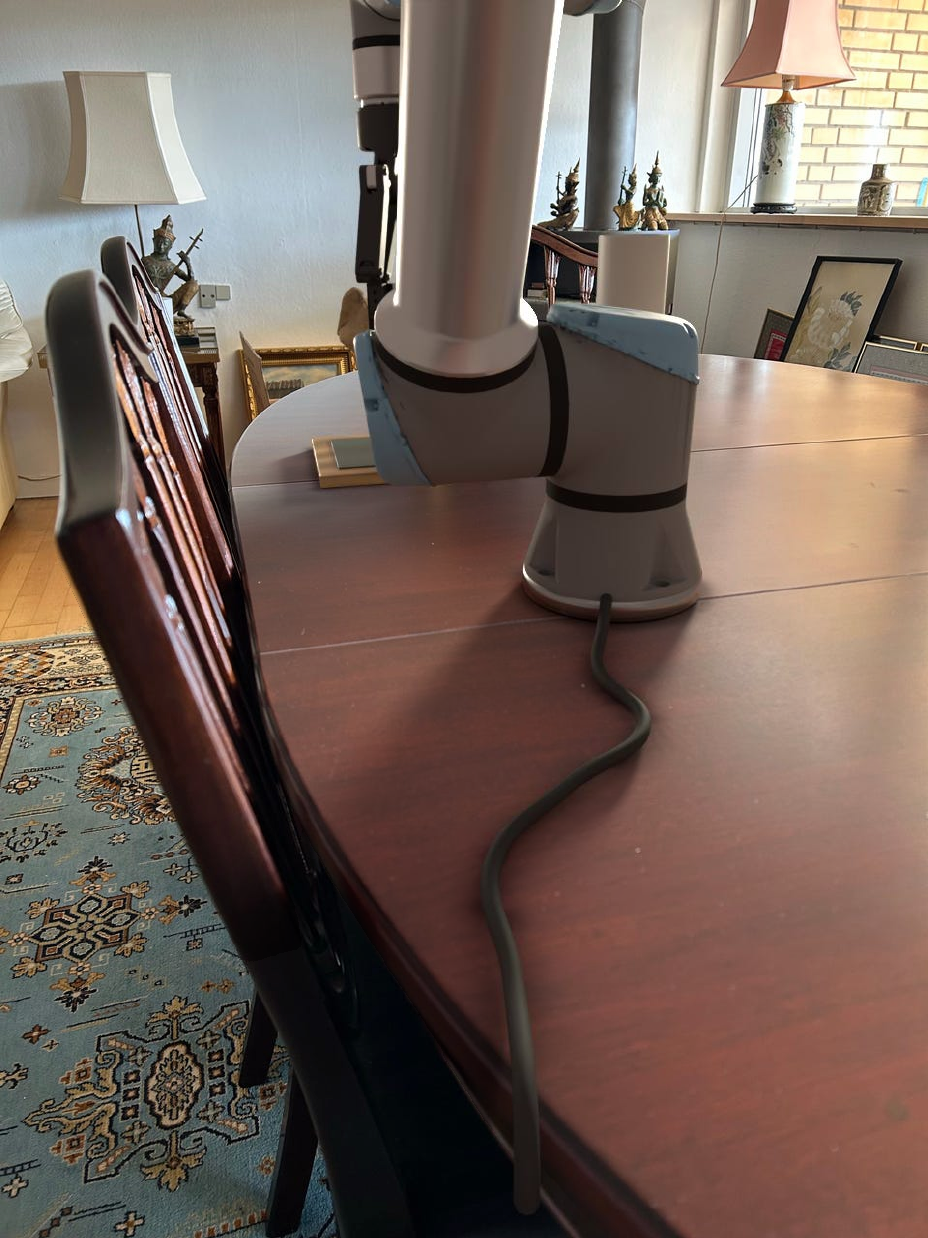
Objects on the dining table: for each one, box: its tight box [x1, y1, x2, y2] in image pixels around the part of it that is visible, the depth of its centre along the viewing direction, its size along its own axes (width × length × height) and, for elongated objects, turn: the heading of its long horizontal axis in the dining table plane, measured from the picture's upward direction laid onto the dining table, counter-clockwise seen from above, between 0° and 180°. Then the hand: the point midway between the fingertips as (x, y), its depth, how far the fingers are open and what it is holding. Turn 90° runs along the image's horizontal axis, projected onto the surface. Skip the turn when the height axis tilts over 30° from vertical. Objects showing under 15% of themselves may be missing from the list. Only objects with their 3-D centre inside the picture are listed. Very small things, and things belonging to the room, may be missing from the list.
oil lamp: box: [336, 286, 369, 355], centre depth 94 cm, size 11×15×8 cm
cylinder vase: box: [595, 233, 671, 315], centre depth 164 cm, size 12×12×25 cm
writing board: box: [311, 433, 388, 489], centre depth 117 cm, size 20×16×2 cm
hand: (405, 343), depth 94 cm, fingers closed on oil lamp, 11 cm apart
